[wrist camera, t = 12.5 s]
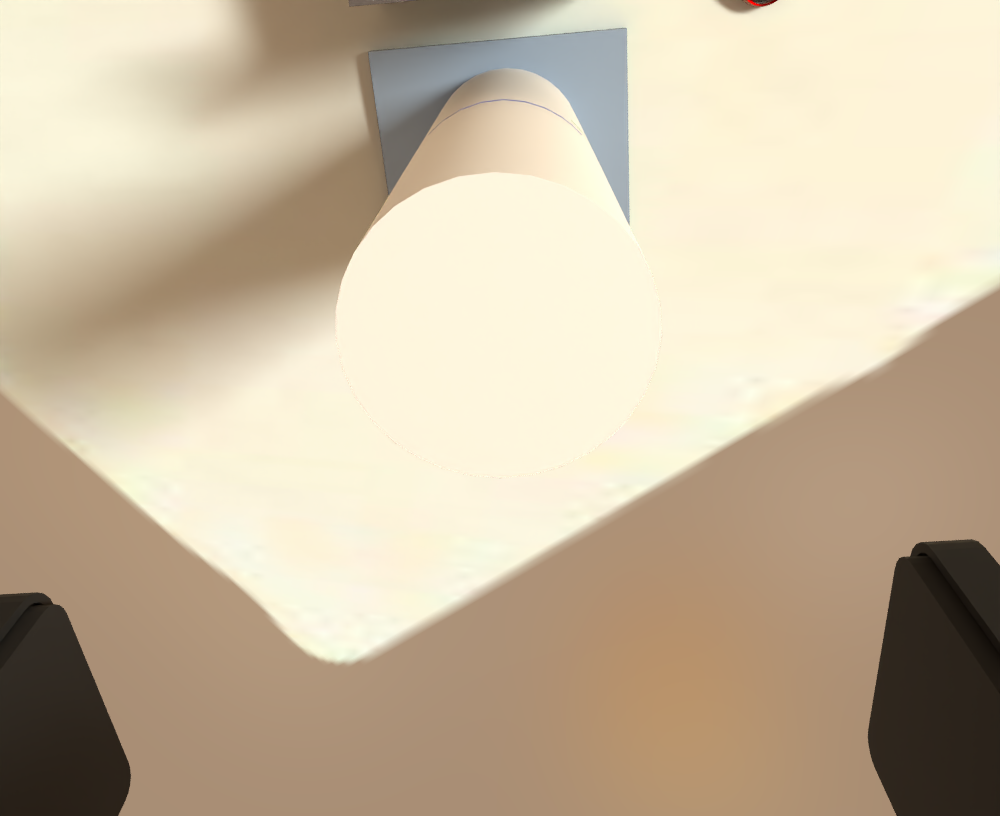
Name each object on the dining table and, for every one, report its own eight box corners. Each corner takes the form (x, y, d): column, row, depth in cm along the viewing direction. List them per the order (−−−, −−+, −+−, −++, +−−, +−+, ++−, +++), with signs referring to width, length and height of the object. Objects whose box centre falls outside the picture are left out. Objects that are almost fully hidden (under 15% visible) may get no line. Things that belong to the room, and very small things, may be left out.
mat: (370, 51, 39) (368, 52, 39) (625, 27, 39) (626, 28, 38) (399, 256, 44) (397, 260, 43) (628, 238, 43) (629, 242, 43)
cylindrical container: (483, 36, 38) (440, 100, 16) (610, 123, 40) (729, 291, 18) (407, 169, 41) (280, 382, 19) (528, 246, 43) (543, 525, 20)
